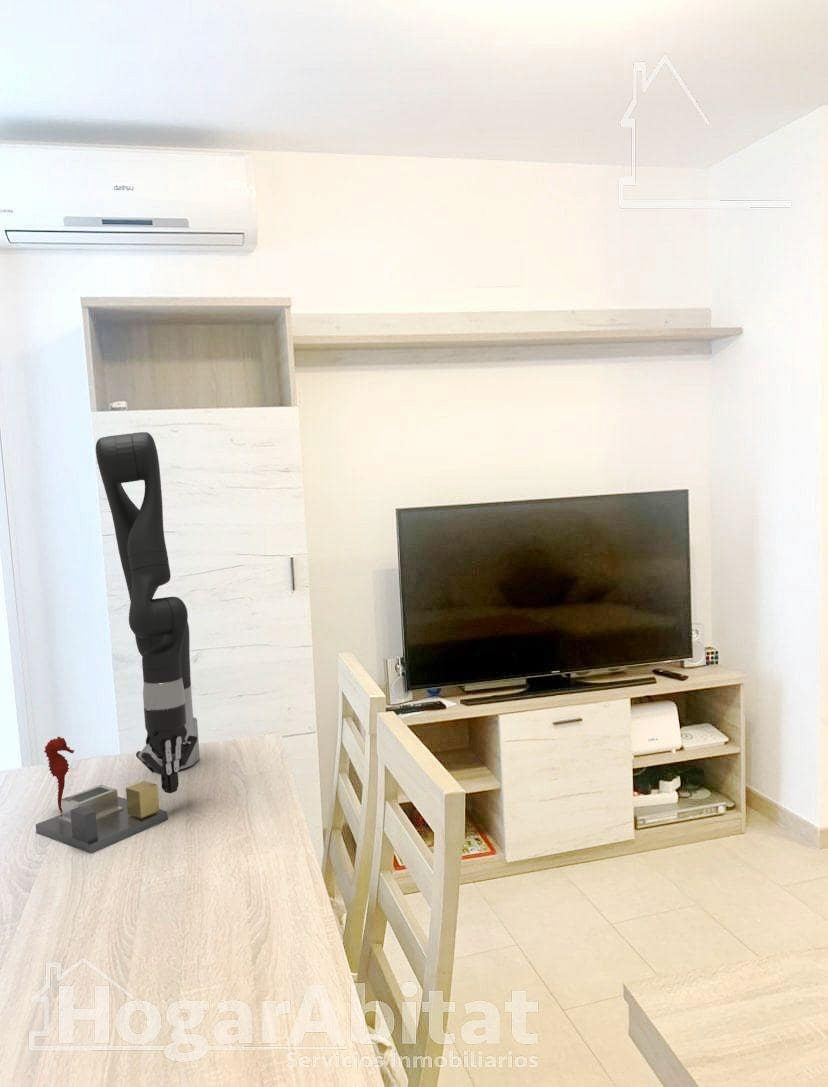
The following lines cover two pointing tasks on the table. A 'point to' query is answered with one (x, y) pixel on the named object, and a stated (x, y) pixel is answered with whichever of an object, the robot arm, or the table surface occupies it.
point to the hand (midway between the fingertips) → (170, 791)
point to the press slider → (142, 799)
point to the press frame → (96, 820)
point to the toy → (58, 763)
